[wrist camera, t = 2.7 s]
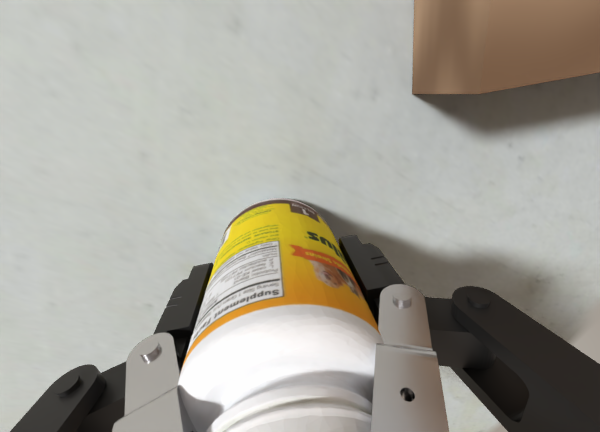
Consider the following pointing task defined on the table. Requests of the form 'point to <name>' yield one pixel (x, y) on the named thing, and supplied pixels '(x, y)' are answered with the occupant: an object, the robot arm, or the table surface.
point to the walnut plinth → (502, 43)
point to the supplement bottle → (281, 331)
